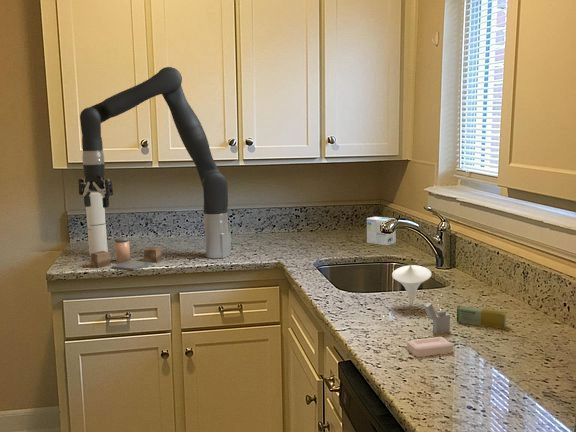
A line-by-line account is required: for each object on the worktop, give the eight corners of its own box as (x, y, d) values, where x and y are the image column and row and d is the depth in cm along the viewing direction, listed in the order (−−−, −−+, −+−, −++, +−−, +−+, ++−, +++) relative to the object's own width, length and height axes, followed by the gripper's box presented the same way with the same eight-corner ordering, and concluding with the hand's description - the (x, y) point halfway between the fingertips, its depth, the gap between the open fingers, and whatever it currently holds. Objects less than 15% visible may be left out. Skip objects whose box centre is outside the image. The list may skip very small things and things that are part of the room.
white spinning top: (426, 313, 163) (426, 270, 161) (387, 308, 168) (387, 266, 166) (434, 302, 172) (435, 261, 171) (397, 298, 177) (398, 258, 175)
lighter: (445, 329, 151) (445, 298, 150) (450, 331, 149) (450, 300, 148) (422, 334, 148) (423, 302, 147) (427, 336, 146) (427, 304, 145)
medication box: (455, 322, 156) (456, 307, 155) (458, 319, 158) (458, 304, 158) (504, 329, 150) (505, 314, 150) (506, 326, 153) (507, 311, 152)
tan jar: (133, 260, 235) (132, 237, 233) (124, 263, 230) (122, 239, 228) (122, 258, 237) (121, 236, 235) (113, 262, 232) (111, 239, 231)
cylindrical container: (102, 256, 242) (97, 194, 238) (86, 255, 244) (81, 194, 240) (111, 252, 249) (106, 192, 245) (95, 252, 250) (90, 192, 246)
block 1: (110, 265, 226) (109, 252, 226) (98, 268, 223) (97, 254, 222) (104, 263, 230) (103, 250, 229) (91, 266, 227) (90, 253, 226)
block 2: (161, 259, 234) (161, 247, 233) (156, 262, 229) (155, 250, 228) (149, 259, 235) (148, 247, 234) (144, 262, 230) (143, 249, 229)
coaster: (151, 264, 226) (151, 262, 226) (133, 270, 217) (133, 268, 217) (130, 262, 231) (129, 260, 231) (112, 268, 222) (111, 266, 222)
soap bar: (406, 349, 139) (406, 339, 139) (442, 345, 141) (442, 335, 141) (416, 358, 134) (416, 348, 134) (453, 354, 136) (453, 343, 136)
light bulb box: (396, 243, 254) (396, 218, 253) (387, 246, 250) (387, 220, 248) (375, 240, 262) (375, 215, 260) (366, 242, 257) (366, 217, 255)
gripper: (115, 162, 221) (118, 206, 223) (86, 162, 227) (89, 204, 229) (101, 164, 214) (104, 209, 217) (71, 163, 220) (74, 207, 223)
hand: (96, 207), depth 223 cm, fingers open, 8 cm apart
